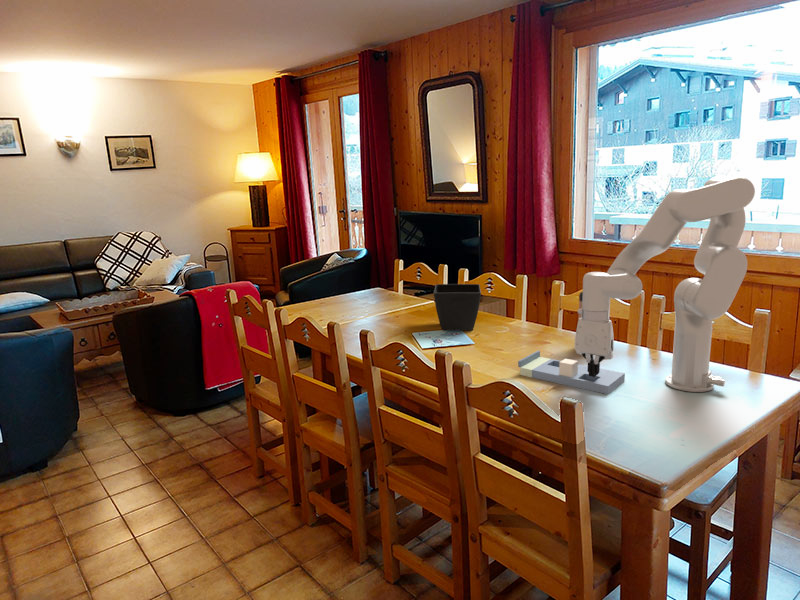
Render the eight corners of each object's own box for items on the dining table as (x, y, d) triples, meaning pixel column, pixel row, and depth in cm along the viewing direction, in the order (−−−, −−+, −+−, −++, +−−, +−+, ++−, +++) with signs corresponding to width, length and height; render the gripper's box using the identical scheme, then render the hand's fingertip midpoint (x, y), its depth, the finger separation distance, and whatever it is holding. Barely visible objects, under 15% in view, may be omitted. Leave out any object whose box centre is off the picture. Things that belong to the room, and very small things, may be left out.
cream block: (577, 373, 172) (577, 360, 171) (571, 377, 169) (572, 364, 168) (565, 370, 175) (565, 358, 174) (559, 374, 172) (559, 362, 171)
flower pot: (479, 320, 247) (479, 283, 243) (481, 332, 229) (481, 292, 225) (436, 321, 249) (435, 283, 245) (434, 333, 231) (433, 292, 227)
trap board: (624, 381, 171) (625, 366, 170) (607, 394, 162) (608, 379, 161) (537, 363, 190) (537, 350, 189) (518, 374, 180) (518, 361, 179)
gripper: (565, 314, 166) (563, 373, 170) (616, 321, 156) (613, 384, 160) (576, 309, 171) (574, 367, 175) (626, 315, 161) (623, 376, 165)
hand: (593, 375), depth 167 cm, fingers closed
